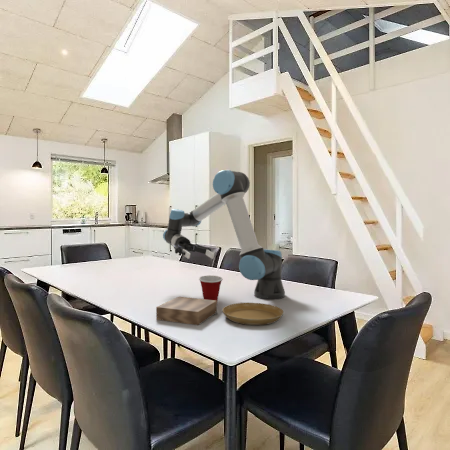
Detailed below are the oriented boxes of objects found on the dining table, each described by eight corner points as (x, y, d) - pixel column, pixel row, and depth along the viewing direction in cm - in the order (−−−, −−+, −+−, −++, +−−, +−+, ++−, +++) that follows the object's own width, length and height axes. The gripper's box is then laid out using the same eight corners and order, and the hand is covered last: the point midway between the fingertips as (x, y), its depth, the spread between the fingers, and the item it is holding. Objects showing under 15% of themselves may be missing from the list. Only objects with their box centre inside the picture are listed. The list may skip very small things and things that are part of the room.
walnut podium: (216, 312, 153) (216, 300, 153) (198, 325, 136) (198, 311, 136) (178, 307, 159) (178, 296, 159) (156, 319, 143) (156, 306, 142)
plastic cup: (201, 307, 160) (201, 280, 160) (196, 301, 171) (196, 276, 170) (225, 305, 163) (225, 279, 163) (219, 300, 174) (219, 274, 173)
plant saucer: (277, 309, 158) (277, 302, 158) (288, 327, 134) (289, 318, 134) (221, 309, 158) (221, 302, 157) (223, 328, 134) (223, 319, 133)
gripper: (199, 250, 200) (221, 263, 183) (158, 249, 185) (177, 263, 168) (202, 237, 198) (224, 249, 182) (160, 235, 184) (180, 248, 167)
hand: (201, 256), depth 175 cm, fingers open, 13 cm apart
